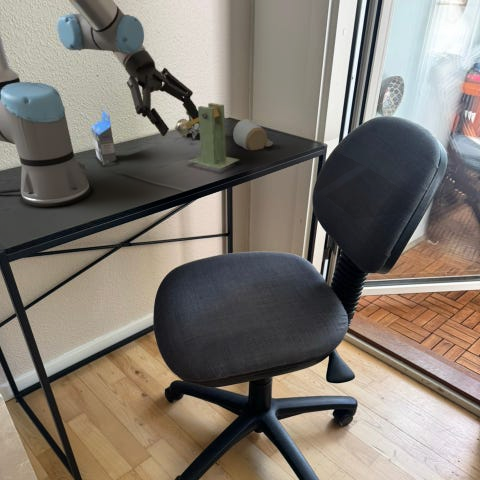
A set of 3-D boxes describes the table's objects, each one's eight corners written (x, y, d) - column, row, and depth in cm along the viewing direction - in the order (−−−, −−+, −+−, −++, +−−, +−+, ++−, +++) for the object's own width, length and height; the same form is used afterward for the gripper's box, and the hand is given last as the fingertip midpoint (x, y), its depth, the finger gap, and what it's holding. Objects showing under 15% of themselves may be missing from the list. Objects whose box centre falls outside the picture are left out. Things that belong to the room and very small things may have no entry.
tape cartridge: (96, 157, 134) (87, 111, 126) (109, 155, 135) (101, 109, 128) (104, 166, 127) (94, 118, 120) (118, 164, 129) (110, 116, 121)
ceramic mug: (246, 155, 132) (246, 127, 128) (232, 148, 138) (232, 120, 133) (278, 150, 136) (279, 122, 132) (263, 143, 142) (264, 115, 137)
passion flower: (210, 155, 150) (230, 125, 142) (188, 158, 142) (209, 126, 134) (188, 129, 151) (206, 98, 144) (165, 131, 143) (184, 98, 135)
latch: (176, 138, 127) (170, 123, 126) (186, 134, 130) (180, 120, 129) (213, 121, 117) (207, 105, 116) (223, 117, 120) (217, 101, 119)
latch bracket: (188, 165, 127) (183, 106, 118) (208, 156, 132) (204, 99, 123) (220, 173, 121) (217, 112, 113) (239, 164, 127) (238, 105, 118)
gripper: (161, 62, 136) (205, 124, 138) (94, 77, 120) (144, 147, 122) (173, 42, 130) (219, 107, 132) (104, 55, 114) (156, 128, 116)
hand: (183, 126), depth 127 cm, fingers open, 13 cm apart
